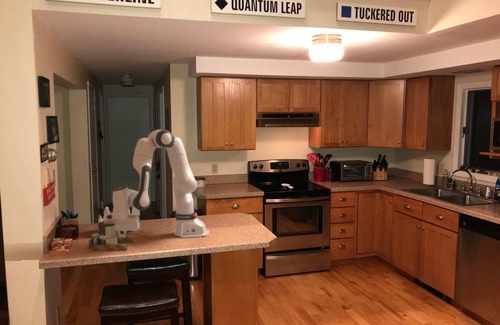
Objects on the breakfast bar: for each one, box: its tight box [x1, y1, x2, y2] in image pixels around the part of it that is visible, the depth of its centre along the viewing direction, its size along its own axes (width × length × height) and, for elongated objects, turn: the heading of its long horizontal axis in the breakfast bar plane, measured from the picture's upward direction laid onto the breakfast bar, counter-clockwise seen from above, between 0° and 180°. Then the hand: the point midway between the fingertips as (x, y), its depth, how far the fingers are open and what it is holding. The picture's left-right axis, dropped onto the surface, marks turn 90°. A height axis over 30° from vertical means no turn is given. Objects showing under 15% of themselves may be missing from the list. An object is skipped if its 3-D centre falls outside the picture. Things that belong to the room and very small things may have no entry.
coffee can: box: [97, 221, 118, 245], centre depth 232 cm, size 10×10×14 cm
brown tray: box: [88, 236, 135, 252], centre depth 232 cm, size 21×16×6 cm
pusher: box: [91, 232, 99, 245], centre depth 232 cm, size 4×12×7 cm, turn 1°
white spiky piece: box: [98, 206, 141, 223], centre depth 262 cm, size 18×18×25 cm
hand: (122, 237), depth 232 cm, fingers closed
